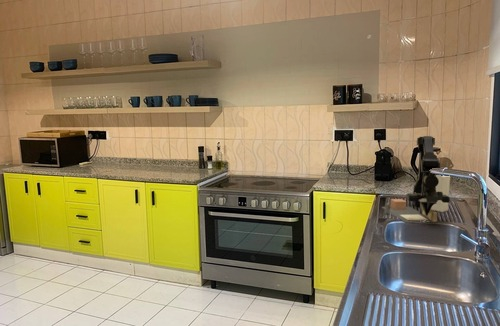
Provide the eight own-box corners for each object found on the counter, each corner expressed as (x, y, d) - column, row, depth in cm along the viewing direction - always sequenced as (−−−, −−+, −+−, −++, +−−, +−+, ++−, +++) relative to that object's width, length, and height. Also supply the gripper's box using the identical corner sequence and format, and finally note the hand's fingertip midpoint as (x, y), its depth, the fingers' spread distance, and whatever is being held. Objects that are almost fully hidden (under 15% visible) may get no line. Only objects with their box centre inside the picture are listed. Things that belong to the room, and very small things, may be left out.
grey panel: (409, 207, 221) (409, 206, 221) (437, 221, 191) (437, 221, 191) (380, 207, 220) (380, 206, 220) (405, 222, 190) (405, 221, 190)
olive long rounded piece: (423, 213, 207) (424, 202, 206) (425, 214, 205) (426, 203, 204) (384, 214, 206) (385, 202, 205) (386, 215, 203) (386, 203, 203)
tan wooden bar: (421, 213, 204) (421, 204, 204) (425, 213, 204) (426, 204, 203) (432, 221, 189) (432, 212, 188) (437, 221, 189) (437, 212, 188)
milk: (448, 210, 212) (451, 170, 209) (440, 212, 209) (443, 170, 206) (437, 208, 218) (440, 168, 215) (430, 209, 215) (433, 169, 212)
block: (401, 207, 219) (401, 199, 219) (406, 209, 213) (406, 201, 213) (390, 207, 219) (390, 199, 218) (395, 209, 213) (395, 201, 212)
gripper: (413, 186, 184) (410, 219, 186) (455, 187, 182) (452, 220, 184) (406, 181, 195) (404, 212, 197) (446, 183, 193) (444, 214, 195)
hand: (426, 215), depth 193 cm, fingers closed
